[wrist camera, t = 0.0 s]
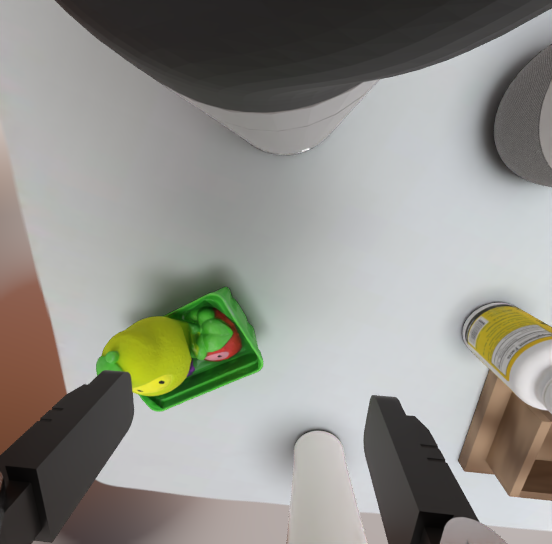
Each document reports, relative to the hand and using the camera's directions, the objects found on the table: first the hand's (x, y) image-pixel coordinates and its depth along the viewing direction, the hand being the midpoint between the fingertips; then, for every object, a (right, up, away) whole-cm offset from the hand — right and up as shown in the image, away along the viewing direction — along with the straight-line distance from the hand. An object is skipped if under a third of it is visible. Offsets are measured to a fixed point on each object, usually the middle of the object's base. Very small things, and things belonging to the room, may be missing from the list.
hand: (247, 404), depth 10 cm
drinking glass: (+6, -15, +23) cm, 28 cm away
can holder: (+27, -11, +20) cm, 35 cm away
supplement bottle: (+20, -1, +17) cm, 27 cm away
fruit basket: (-7, 0, +19) cm, 20 cm away
